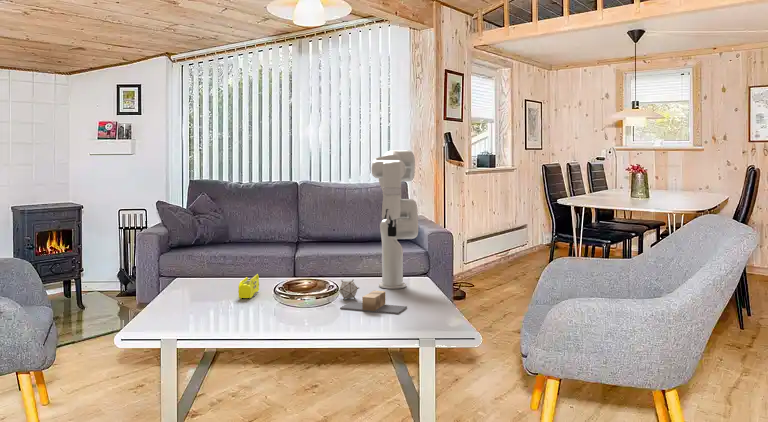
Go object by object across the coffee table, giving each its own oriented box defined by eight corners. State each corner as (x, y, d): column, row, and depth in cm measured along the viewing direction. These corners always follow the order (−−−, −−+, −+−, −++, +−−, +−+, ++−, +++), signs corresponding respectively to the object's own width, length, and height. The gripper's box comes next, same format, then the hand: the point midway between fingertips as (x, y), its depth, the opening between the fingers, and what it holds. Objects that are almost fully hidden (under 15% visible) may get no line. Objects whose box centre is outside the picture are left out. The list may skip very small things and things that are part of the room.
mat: (351, 303, 240) (351, 301, 240) (407, 307, 231) (407, 306, 231) (340, 309, 230) (340, 307, 230) (398, 314, 222) (398, 312, 221)
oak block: (373, 290, 237) (362, 296, 226) (385, 291, 235) (374, 297, 224) (373, 302, 237) (362, 309, 226) (385, 303, 236) (374, 310, 224)
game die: (351, 308, 246) (355, 292, 240) (333, 300, 247) (336, 284, 241) (359, 294, 253) (363, 278, 246) (341, 286, 254) (345, 270, 248)
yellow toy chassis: (251, 300, 247) (251, 280, 246) (238, 300, 247) (237, 280, 246) (260, 291, 263) (259, 273, 262) (247, 291, 263) (247, 273, 262)
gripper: (389, 190, 249) (390, 233, 251) (376, 193, 235) (376, 238, 237) (406, 190, 246) (406, 233, 248) (394, 193, 232) (394, 239, 234)
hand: (392, 236), depth 243 cm, fingers closed
